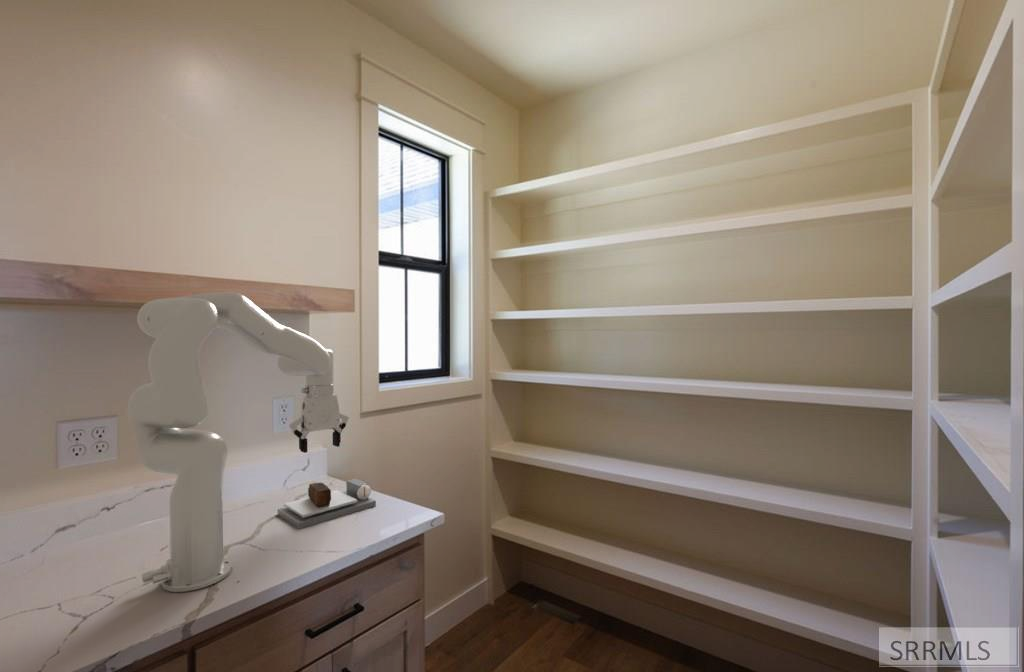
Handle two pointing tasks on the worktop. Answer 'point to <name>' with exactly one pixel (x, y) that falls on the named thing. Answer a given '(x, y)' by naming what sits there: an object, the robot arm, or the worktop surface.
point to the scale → (340, 504)
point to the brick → (319, 494)
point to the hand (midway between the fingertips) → (320, 448)
